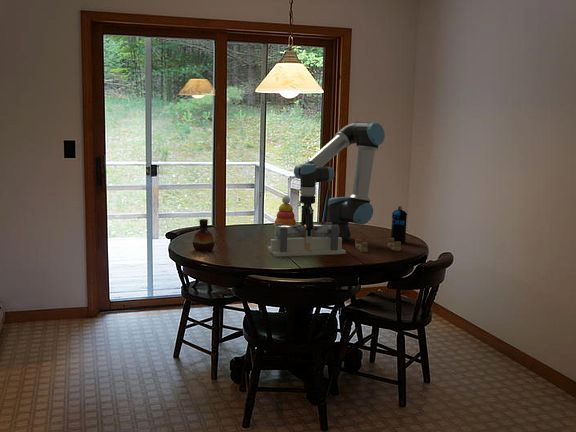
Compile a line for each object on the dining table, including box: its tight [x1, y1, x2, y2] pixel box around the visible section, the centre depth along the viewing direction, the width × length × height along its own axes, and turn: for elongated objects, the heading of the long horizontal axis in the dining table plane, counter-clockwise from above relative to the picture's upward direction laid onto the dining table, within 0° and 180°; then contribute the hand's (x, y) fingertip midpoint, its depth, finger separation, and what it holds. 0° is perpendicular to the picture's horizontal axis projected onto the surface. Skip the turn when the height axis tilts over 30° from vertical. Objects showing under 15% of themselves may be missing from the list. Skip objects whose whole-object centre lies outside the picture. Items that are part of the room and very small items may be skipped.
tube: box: [273, 224, 339, 239], centre depth 308 cm, size 32×6×6 cm, turn 104°
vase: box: [191, 218, 216, 253], centre depth 305 cm, size 11×11×15 cm
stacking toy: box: [273, 195, 298, 227], centre depth 371 cm, size 14×14×20 cm
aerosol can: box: [390, 205, 408, 244], centre depth 335 cm, size 8×8×20 cm
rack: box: [354, 237, 402, 253], centre depth 318 cm, size 10×21×4 cm, turn 104°
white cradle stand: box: [267, 221, 347, 257], centre depth 308 cm, size 16×36×14 cm, turn 104°
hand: (306, 241), depth 308 cm, fingers closed on tube, 6 cm apart
